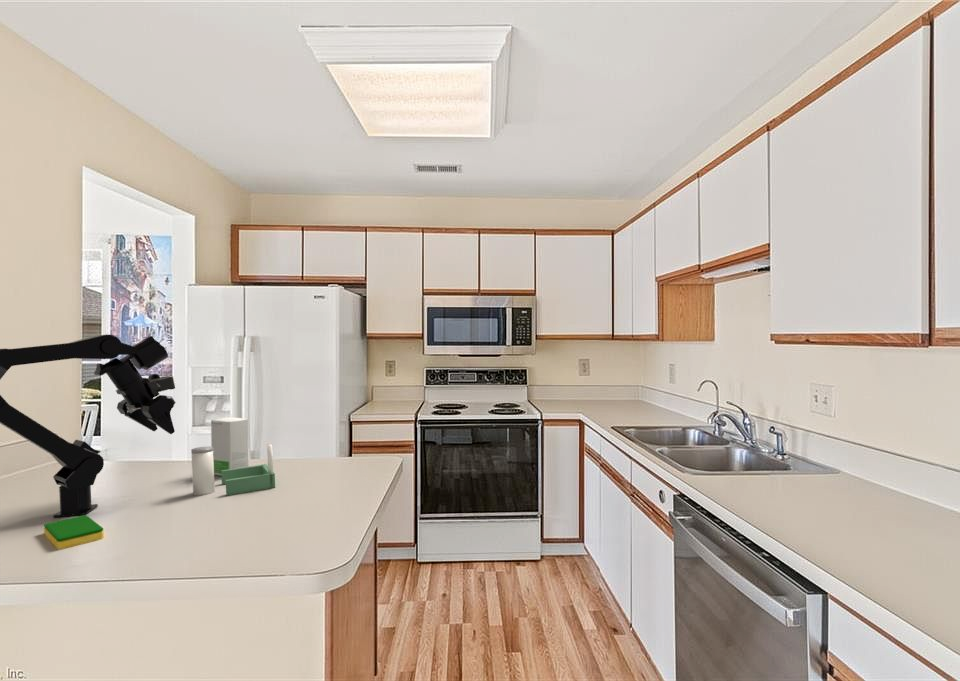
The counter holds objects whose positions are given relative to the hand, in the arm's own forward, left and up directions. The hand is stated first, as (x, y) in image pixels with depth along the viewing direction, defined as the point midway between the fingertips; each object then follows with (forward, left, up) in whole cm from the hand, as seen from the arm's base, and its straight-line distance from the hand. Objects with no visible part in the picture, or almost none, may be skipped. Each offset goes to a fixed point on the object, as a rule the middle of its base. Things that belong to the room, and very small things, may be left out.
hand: (164, 431), depth 139 cm
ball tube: (-6, -10, -15) cm, 19 cm away
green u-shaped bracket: (-3, -20, -15) cm, 25 cm away
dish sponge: (-30, +8, -16) cm, 35 cm away
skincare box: (+14, -13, -15) cm, 24 cm away
